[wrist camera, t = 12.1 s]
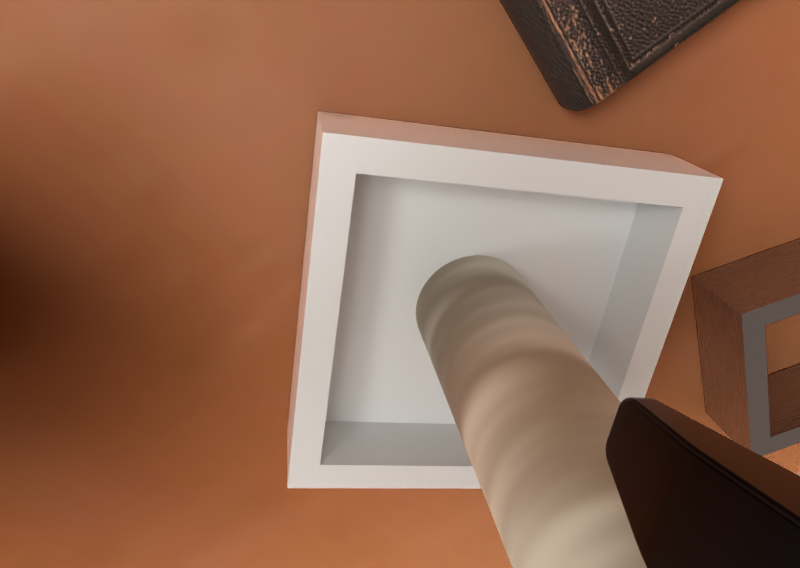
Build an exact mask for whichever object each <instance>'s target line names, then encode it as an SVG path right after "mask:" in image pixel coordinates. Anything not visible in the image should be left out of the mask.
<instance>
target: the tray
mask: <svg viewBox="0 0 800 568" xmlns="http://www.w3.org/2000/svg"><path fill="white" fill-rule="evenodd" d="M722 182H723V178H721V177H719V176H717V175H715V174H712V173H710V172H708V171H706V170H704V169H702V168H699V167H697V166H695V165H693V164H691V163H689V162H686V161H684V160H682V159H680V158H678V157H676V156H673V155H671V154H665V153H657V152H649V151H641V150H633V149H625V148H616V147H608V146H600V145H592V144H584V143H576V142H567V141H559V140H551V139H543V138H535V137H527V136H519V135H510V134H502V133H494V132H486V131H478V130H470V129H461V128H453V127H445V126H437V125H429V124H421V123H412V122H404V121H396V120H388V119H380V118H372V117H364V116H355V115H347V114H339V113H331V112H323V111H318V113H317V123H316V134H315V144H314V155H313V165H312V176H311V186H310V197H309V207H308V218H307V228H306V239H305V249H304V260H303V271H302V281H301V292H300V302H299V313H298V323H297V334H296V344H295V355H294V365H293V376H292V386H291V397H290V407H289V418H288V428H287V488H460V489H481V486H480V484H479V481H478V479H477V476H476V474H475V471H474V469H473V466H472V463H471V461H470V458H469V456H468V453H467V451H466V448H465V446H464V443H463V441H462V438H461V435H460V433H459V430H458V428H457V425H456V423H455V420H454V418H453V415H452V413H451V410H450V407H449V405H448V402H447V400H446V397H445V395H444V392H443V390H442V387H441V385H440V382H439V379H438V377H437V374H436V372H435V369H434V367H433V364H432V362H431V359H430V356H429V354H428V351H427V349H426V346H425V344H424V341H423V339H422V336H421V334H420V331H419V328H418V325H417V322H416V305H417V300H418V297H419V294H420V292H421V290H422V288H423V286H424V285H425V283H426V282H427V280H428V279H429V278H430V277H431V276H432V275H433V274H434V273H435V272H436V271H437V270H438V269H440V268H441V267H442V266H444V265H446V264H448V263H449V262H451V261H454V260H456V259H459V258H462V257H467V256H475V255H482V256H490V257H494V258H497V259H500V260H502V261H504V262H506V263H507V264H509V265H510V266H511V267H512V268H513V269H514V270H515V271H516V272H517V273H518V274H519V275H520V277H521V278H522V279H523V280H524V282H525V283H526V284H527V285H528V287H529V288H530V289H531V290H532V292H533V293H534V294H535V295H536V297H537V298H538V299H539V301H540V302H541V303H542V304H543V306H544V307H545V308H546V309H547V311H548V312H549V313H550V314H551V316H552V317H553V318H554V319H555V321H556V322H557V323H558V324H559V326H560V327H561V328H562V329H563V331H564V332H565V333H566V334H567V336H568V337H569V338H570V339H571V341H572V342H573V343H574V344H575V346H576V347H577V348H578V349H579V351H580V352H581V353H582V354H583V356H584V357H585V358H586V359H587V361H588V362H589V363H590V365H591V366H592V367H593V368H594V370H595V371H596V372H597V373H598V375H599V376H600V377H601V378H602V380H603V381H604V382H605V383H606V385H607V386H608V387H609V388H610V390H611V391H612V392H613V393H614V395H615V396H616V397H617V398H618V400H619V401H620V402H622V400H624V399H625V398H628V397H639V398H645V395H646V392H647V389H648V387H649V384H650V381H651V378H652V376H653V373H654V370H655V367H656V365H657V362H658V359H659V356H660V353H661V351H662V348H663V345H664V342H665V340H666V337H667V334H668V331H669V329H670V326H671V323H672V320H673V318H674V315H675V312H676V309H677V306H678V304H679V301H680V298H681V295H682V293H683V290H684V287H685V284H686V282H687V279H688V276H689V273H690V271H691V268H692V265H693V262H694V259H695V257H696V254H697V251H698V248H699V246H700V243H701V240H702V237H703V235H704V232H705V229H706V226H707V224H708V221H709V218H710V215H711V213H712V210H713V207H714V204H715V201H716V199H717V196H718V193H719V190H720V188H721V185H722Z"/></svg>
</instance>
